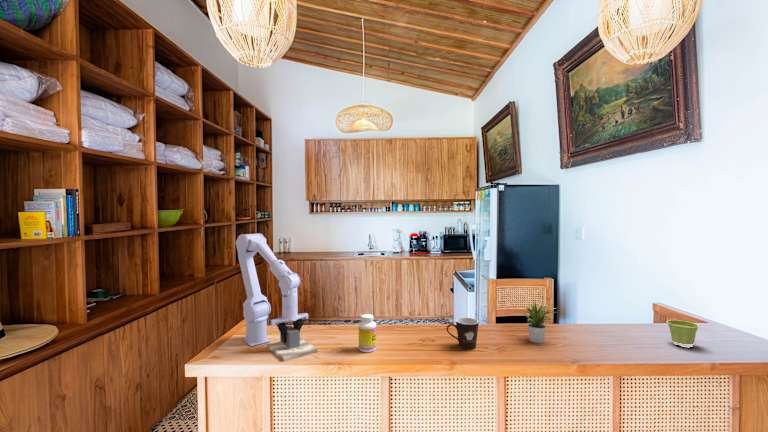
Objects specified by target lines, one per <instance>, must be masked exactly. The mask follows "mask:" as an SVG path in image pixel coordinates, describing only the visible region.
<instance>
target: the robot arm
mask: <svg viewBox="0 0 768 432" xmlns="http://www.w3.org/2000/svg"><path fill="white" fill-rule="evenodd" d="M235 246H236V251H237V258H238V262H239V266H240V271H241V274H242V275H241V276H242V281H243V284H244V289H245V294H246V299H245V301H243V303H242V306H243V312H242V314H243V318H244V319H245V321H246V324H245V337H244V338H243V341H244V342H246V344H247V345H248V346H250V347H253V346H258V345H262V344H266V343H270V342H271V340H270V339H269V338H268V332H267V329H268V323H267V322H268V320H267V319H268V318H269V315H270V314H271V311H272V307H271V304H270V302H269V301H268V297H267V296H265V295H264V294H262V292H261V291H262V290H261V286H260V283H259V278H258V274H257V270H256V269H257V268H256V265H255V261H254V256H255V255H256V254H257V253H259V255H260V256H261V257H262V258H263V260H265V261H266V262H267V263H268V264H269V271H271V273H272V274H273V275H274V277H275V278H276V279H277V280H278V287H279V289H280V294H281V298H282V299H281V301H282V302H281V303H282V305H281V306H282V309H281V310H282V311H281V313H282V314H281V317H280V316H279V317H277V318H274V319H270V326H272V327H277V329H278V330H279V332H280V333H281V336H282V341H283V342H284V343H286V341H287V336H286V334H287V326H288V325H287V324H288V323H291V322H292V327H294V328H295V329H297V330H299V331H301V329H302V327H303V326H304V320H308V319H309V313H308V312H303V313H299V312H298V311H299V308H298V303H299V302H298V300H299V299H298V288H299V287H300V285H301V282H302V281H301V277H300V275H299V274H298V273H296V272H293V271H292V270H291V269H290V268H289V267H288V266H287V264H286V262H285V261H284V260H282V259H278V258H277V257H276V256H275V253H274V252H273V251H272V249H271V248H270V246H269V245H268V244H267V238H266V237H265V236H264V235H263V234H262V233H260V232H257V233H246V234H245V233H241V234H240V235H238V237H237V239H236V241H235Z"/></svg>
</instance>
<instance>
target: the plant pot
mask: <svg viewBox="0 0 768 432" xmlns="http://www.w3.org/2000/svg"><path fill="white" fill-rule="evenodd" d="M666 323H667V324H668V327H669V332H670V336H671V342H672V341H674V342H677V343H682V344H693V343H694V344H695V340H696V334H697V331H698V328H699V327H700V325H699V324H697V323H694V322H691V321H686V320H679V319H668V320H666Z"/></svg>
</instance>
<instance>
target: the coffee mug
mask: <svg viewBox="0 0 768 432" xmlns="http://www.w3.org/2000/svg"><path fill="white" fill-rule="evenodd" d="M455 323H456V324H454V323H450V324H448V325H447V326H446V331H447V333H448V335H450V336H451V337H453V338H454V339H456V340H457V342H458V347H459V348H460V349H461V350H466V351H470V350H475V349H476V347H477V340H478V331H479V323H480V321H479V320H478V319H476V318H472V317H459V318H456V319H455ZM451 326H453V327H455V329H456V334H457V336H455V335H453V334H452V333H451V332H450V331H449V327H451Z"/></svg>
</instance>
